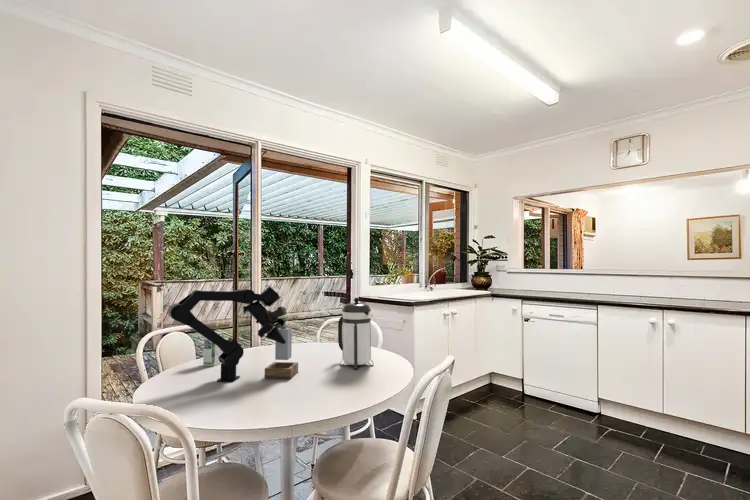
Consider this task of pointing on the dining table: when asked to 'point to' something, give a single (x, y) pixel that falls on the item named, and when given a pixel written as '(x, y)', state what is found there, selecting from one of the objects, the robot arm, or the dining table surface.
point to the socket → (281, 370)
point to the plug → (284, 349)
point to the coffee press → (355, 334)
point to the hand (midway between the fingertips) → (286, 341)
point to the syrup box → (211, 353)
